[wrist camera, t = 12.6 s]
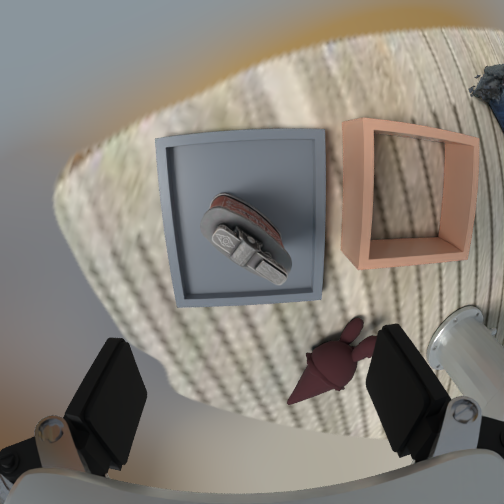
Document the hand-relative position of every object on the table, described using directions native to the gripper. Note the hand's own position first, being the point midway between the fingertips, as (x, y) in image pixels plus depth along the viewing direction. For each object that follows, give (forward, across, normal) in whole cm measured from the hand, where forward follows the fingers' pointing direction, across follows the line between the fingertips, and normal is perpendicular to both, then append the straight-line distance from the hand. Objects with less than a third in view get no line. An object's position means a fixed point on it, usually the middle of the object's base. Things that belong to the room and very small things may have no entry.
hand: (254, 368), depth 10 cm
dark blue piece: (+22, -36, -16) cm, 45 cm away
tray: (+21, 0, 0) cm, 21 cm away
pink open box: (+21, -18, -3) cm, 28 cm away
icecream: (+22, -9, +19) cm, 30 cm away
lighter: (+21, 0, 0) cm, 21 cm away
